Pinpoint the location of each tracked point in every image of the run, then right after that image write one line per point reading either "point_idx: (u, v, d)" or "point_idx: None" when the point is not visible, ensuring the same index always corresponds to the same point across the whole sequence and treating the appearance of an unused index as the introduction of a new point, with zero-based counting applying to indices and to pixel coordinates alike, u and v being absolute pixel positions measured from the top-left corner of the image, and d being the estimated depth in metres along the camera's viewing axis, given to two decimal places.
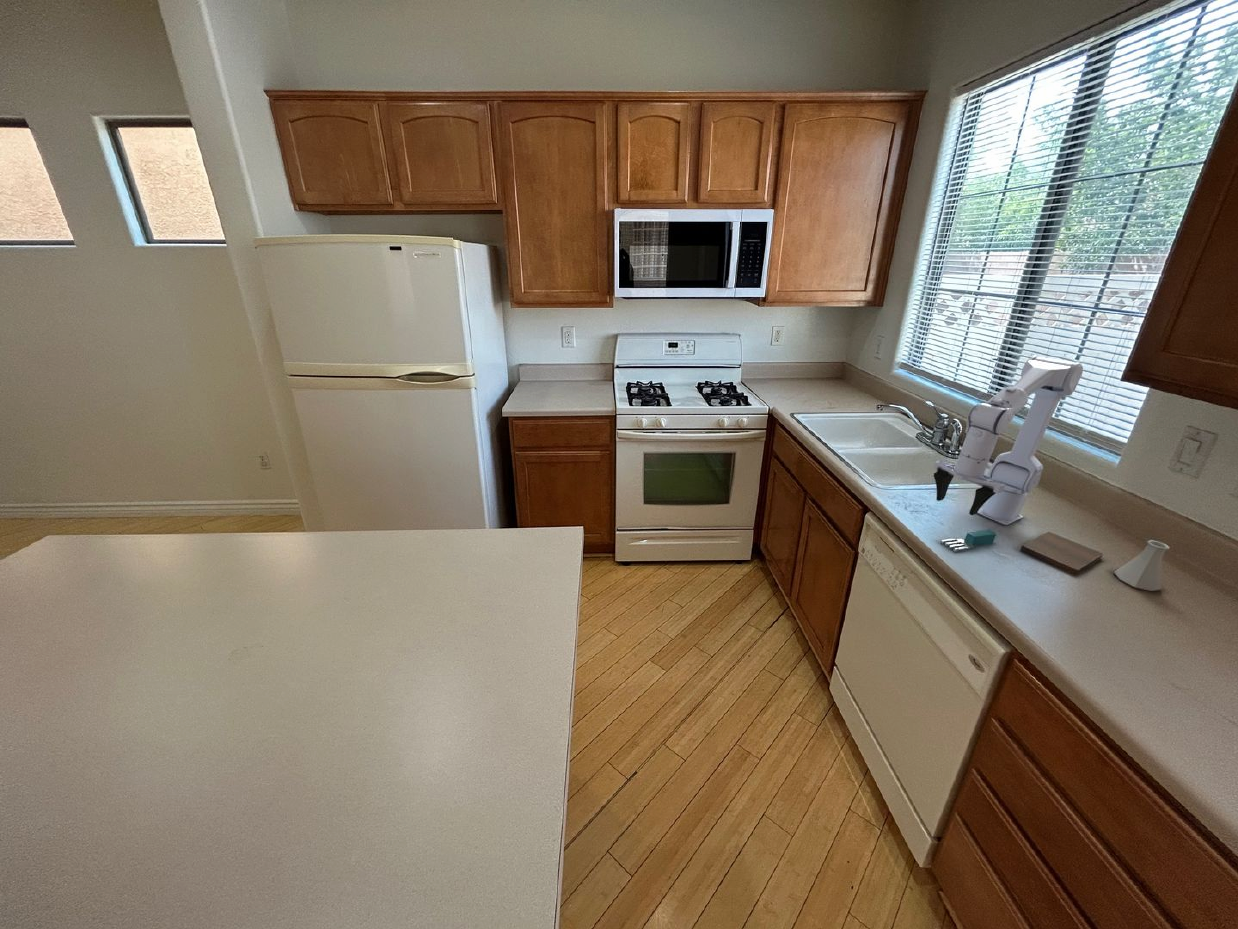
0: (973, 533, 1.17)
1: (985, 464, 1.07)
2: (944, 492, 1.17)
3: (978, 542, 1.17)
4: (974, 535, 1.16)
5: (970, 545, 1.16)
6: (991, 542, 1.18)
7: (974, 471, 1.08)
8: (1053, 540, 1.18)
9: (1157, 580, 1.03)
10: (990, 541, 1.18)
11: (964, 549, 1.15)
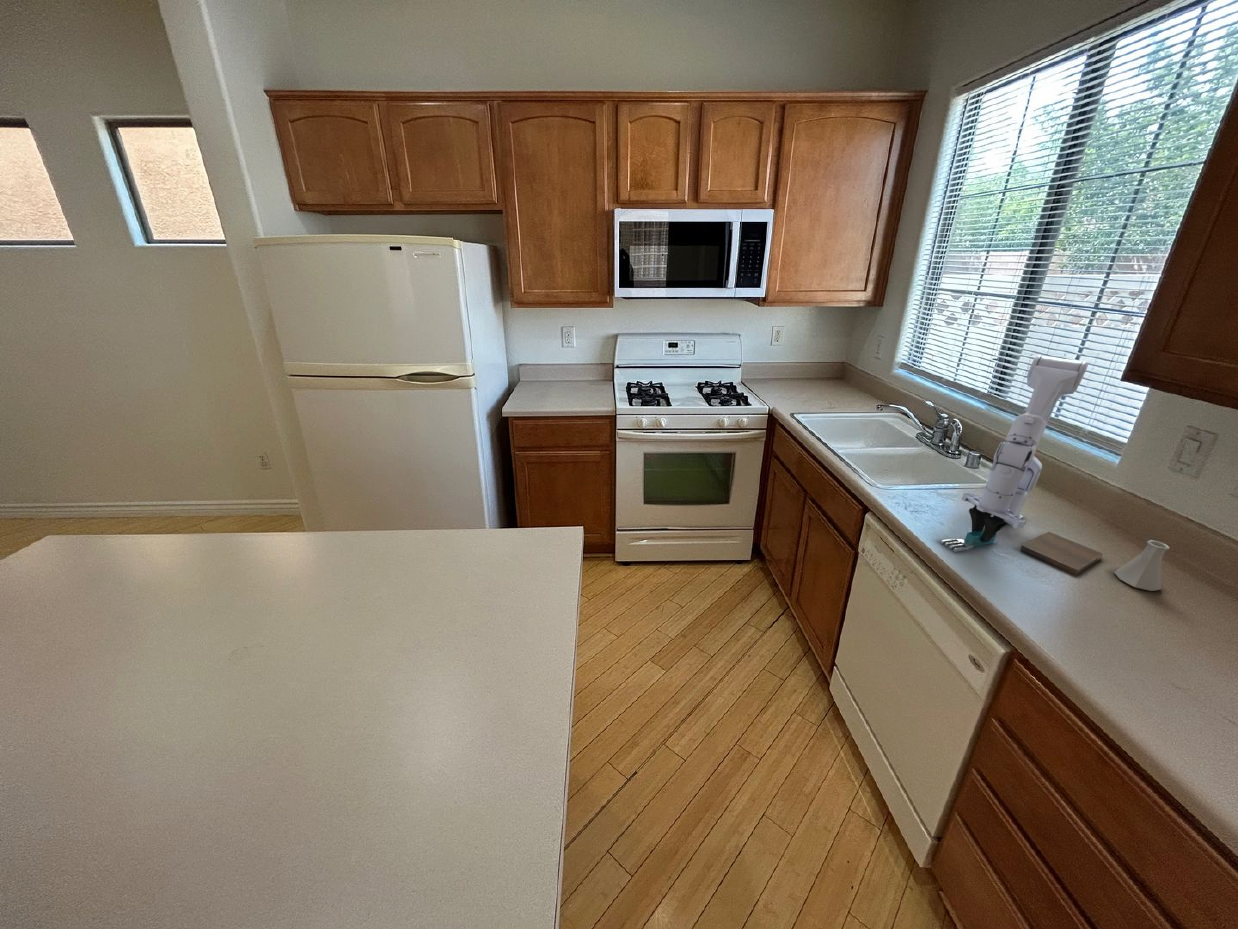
0: (973, 533, 1.17)
1: (1008, 499, 1.11)
2: (980, 528, 1.18)
3: (978, 542, 1.17)
4: (974, 535, 1.16)
5: (970, 545, 1.16)
6: (991, 542, 1.18)
7: (996, 505, 1.12)
8: (1053, 540, 1.18)
9: (1157, 580, 1.03)
10: (990, 541, 1.18)
11: (964, 549, 1.15)
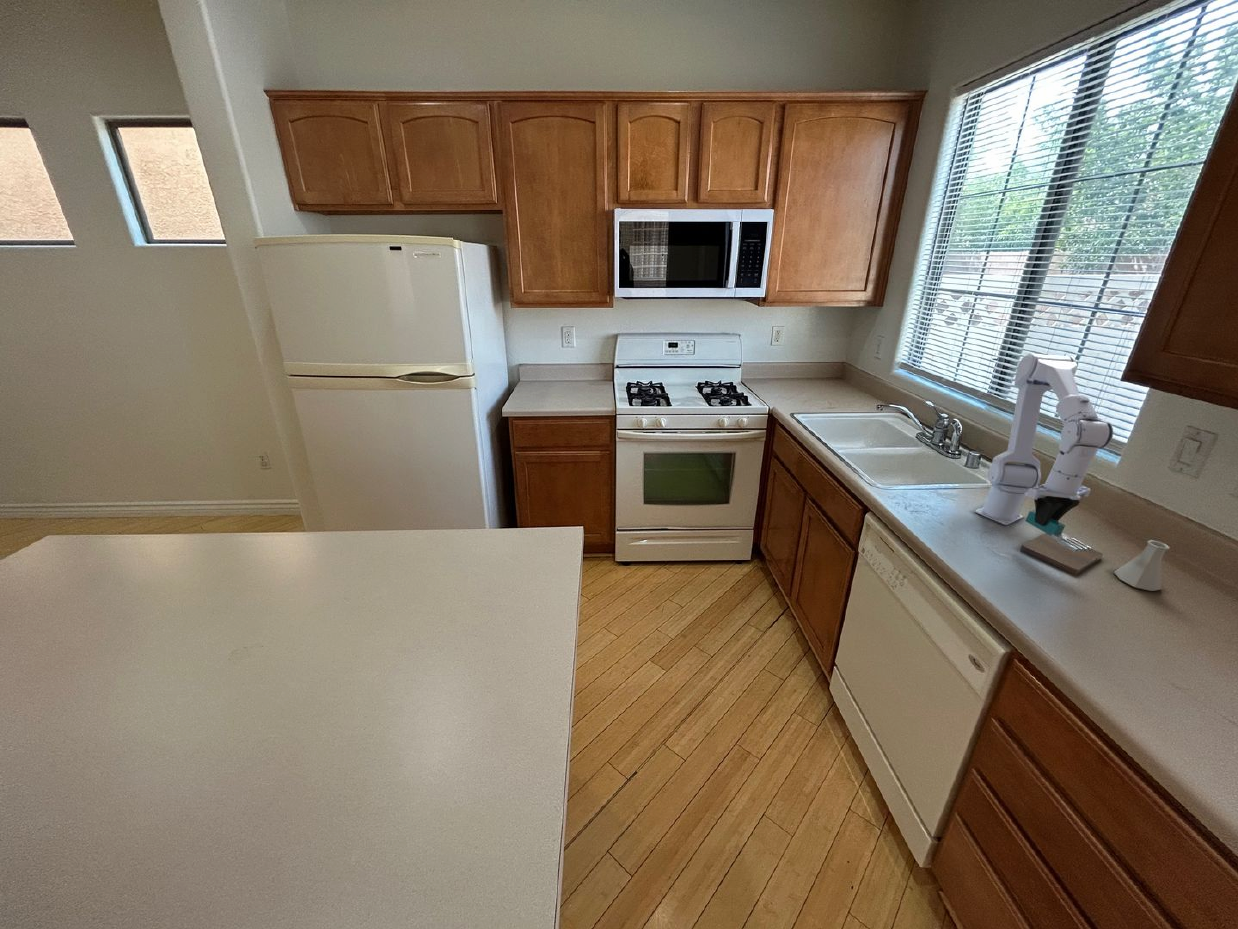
0: (1056, 523, 1.09)
1: None
2: None
3: None
4: (1063, 524, 1.09)
5: (1066, 535, 1.09)
6: None
7: (1079, 486, 1.06)
8: (1053, 540, 1.18)
9: (1157, 580, 1.03)
10: None
11: None
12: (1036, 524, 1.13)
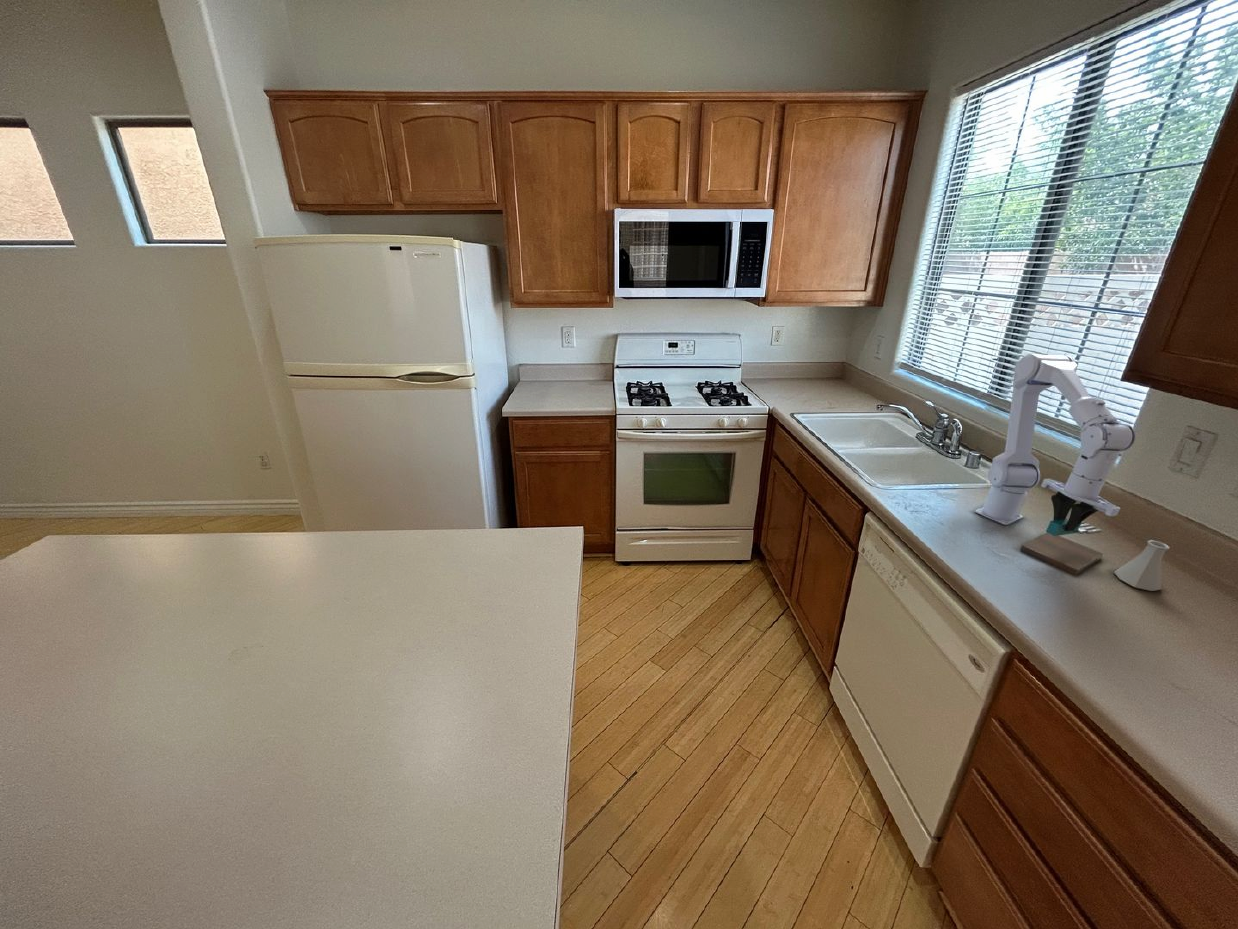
0: None
1: None
2: None
3: None
4: None
5: None
6: None
7: None
8: (1053, 540, 1.18)
9: (1157, 580, 1.03)
10: None
11: None
12: (1064, 532, 1.10)
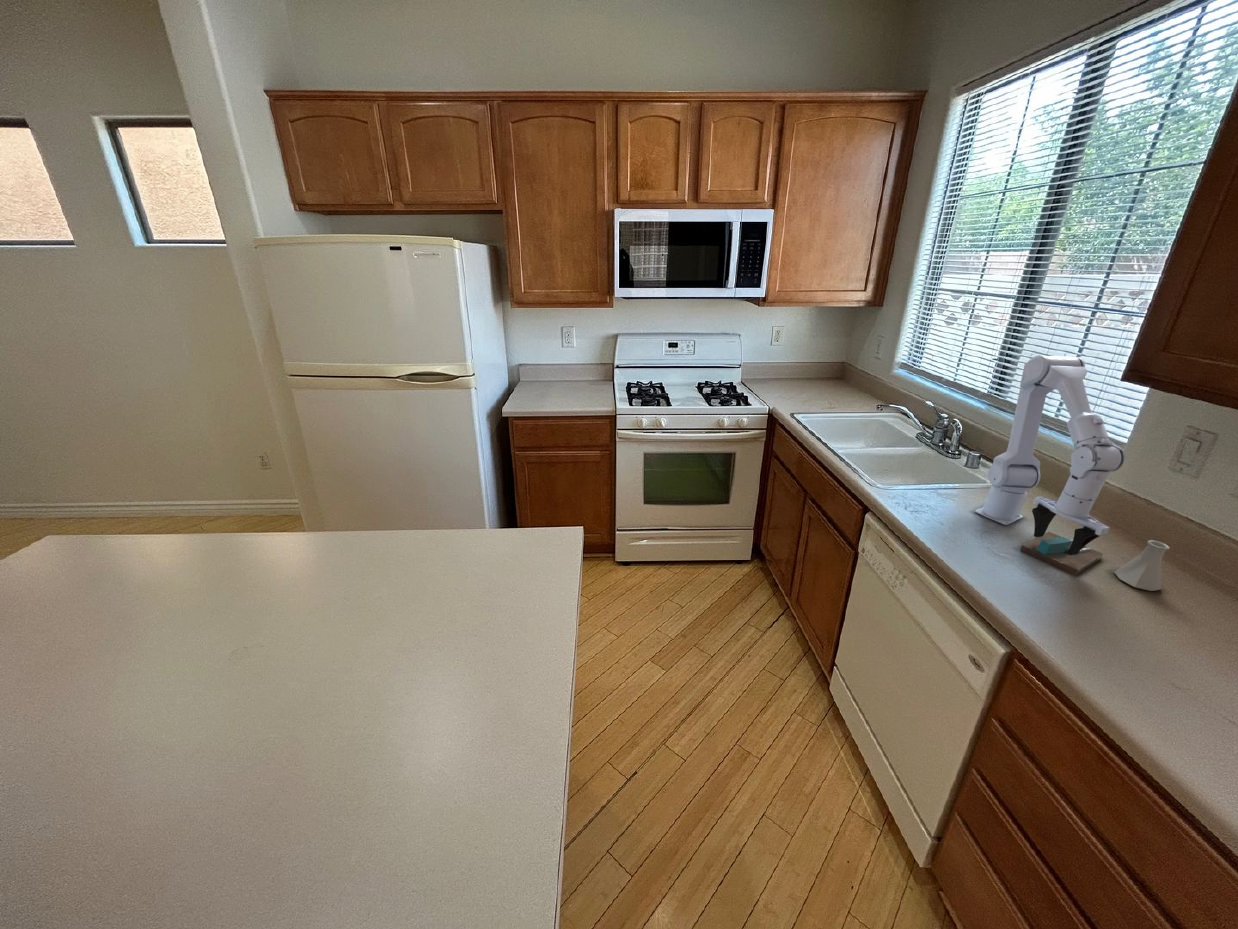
0: (1065, 539, 1.13)
1: None
2: None
3: None
4: (1064, 537, 1.14)
5: None
6: None
7: None
8: None
9: (1157, 580, 1.03)
10: None
11: None
12: (1054, 551, 1.12)
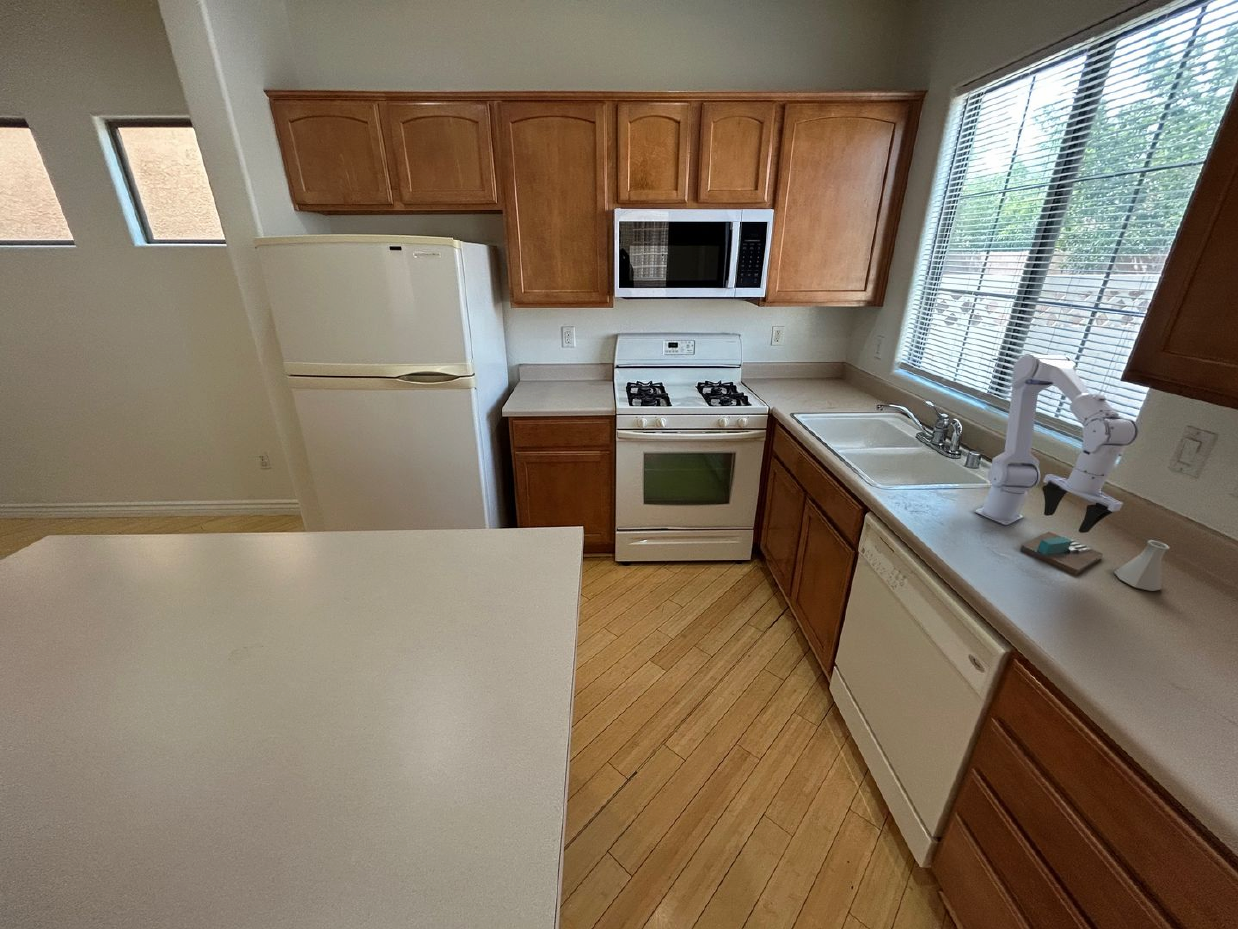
0: (1065, 539, 1.13)
1: None
2: None
3: None
4: (1064, 537, 1.14)
5: None
6: None
7: None
8: None
9: (1157, 580, 1.03)
10: None
11: None
12: (1054, 551, 1.12)
